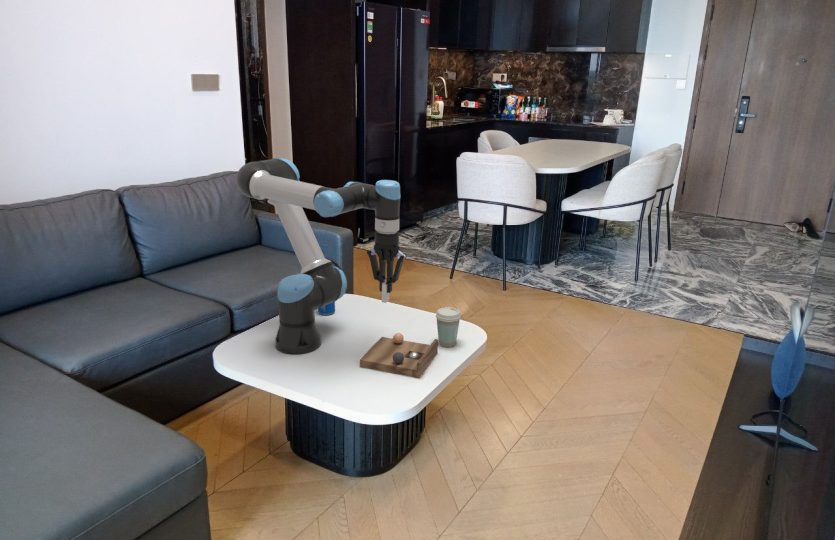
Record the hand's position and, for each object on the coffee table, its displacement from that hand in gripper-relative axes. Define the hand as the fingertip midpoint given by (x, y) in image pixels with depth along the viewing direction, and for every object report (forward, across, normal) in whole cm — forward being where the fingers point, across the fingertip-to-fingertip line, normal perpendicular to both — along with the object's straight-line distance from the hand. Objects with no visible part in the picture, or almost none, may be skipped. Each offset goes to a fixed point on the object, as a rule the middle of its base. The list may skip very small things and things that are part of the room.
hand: (385, 301), depth 189 cm
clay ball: (+14, +4, +2) cm, 14 cm away
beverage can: (+19, -33, +21) cm, 44 cm away
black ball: (+13, +9, -11) cm, 19 cm away
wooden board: (+18, +7, -4) cm, 20 cm away
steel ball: (+16, +12, -4) cm, 20 cm away
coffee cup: (+18, +18, +13) cm, 28 cm away
